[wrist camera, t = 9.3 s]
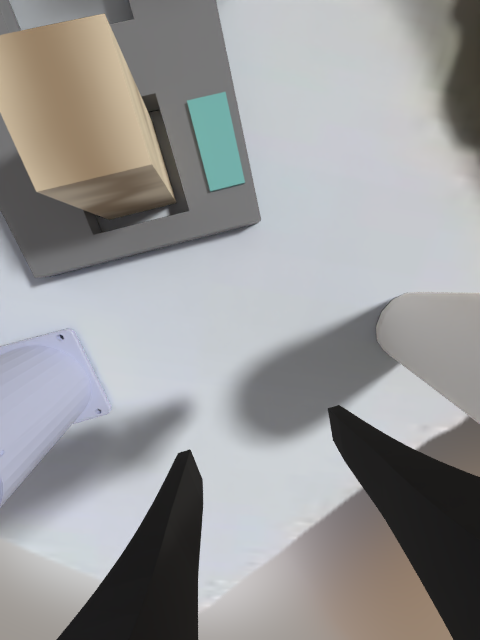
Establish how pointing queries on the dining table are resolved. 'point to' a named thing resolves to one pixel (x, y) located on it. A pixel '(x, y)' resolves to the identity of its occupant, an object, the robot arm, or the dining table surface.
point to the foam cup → (437, 342)
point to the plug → (81, 119)
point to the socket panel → (184, 136)
